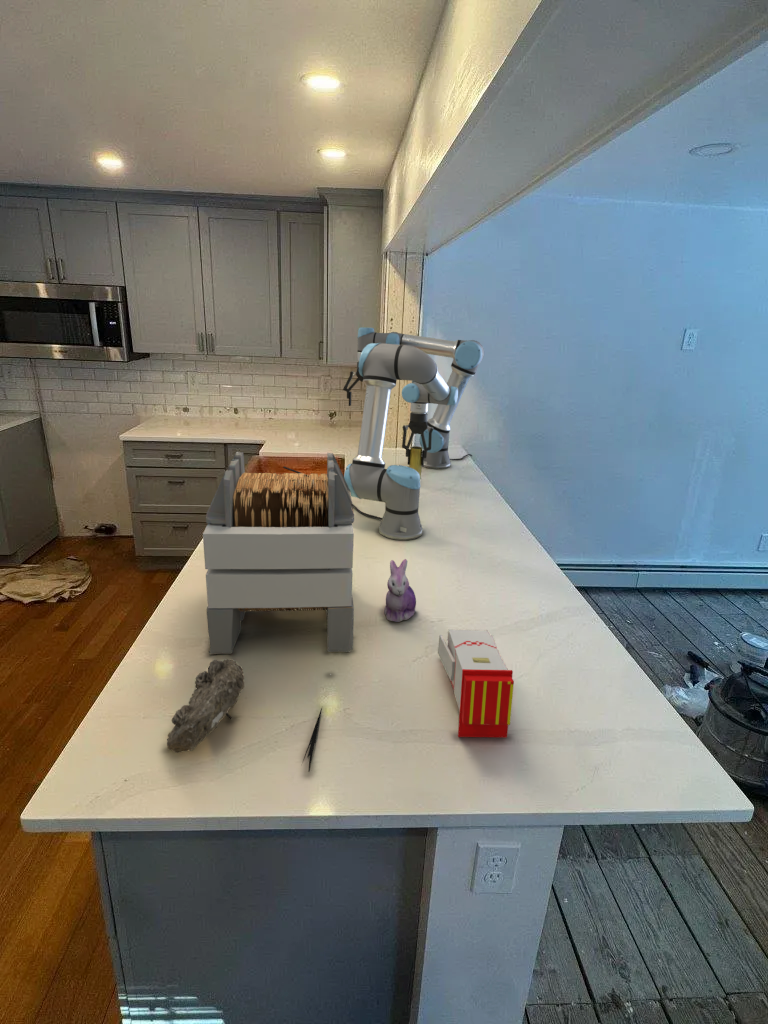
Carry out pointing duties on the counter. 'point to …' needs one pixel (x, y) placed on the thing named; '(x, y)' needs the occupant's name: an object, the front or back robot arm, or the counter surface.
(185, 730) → the fossil
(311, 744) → the feather
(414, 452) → the olive drinking cup
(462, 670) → the toy
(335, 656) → the counter surface
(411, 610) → the figurine
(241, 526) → the record storage crate
